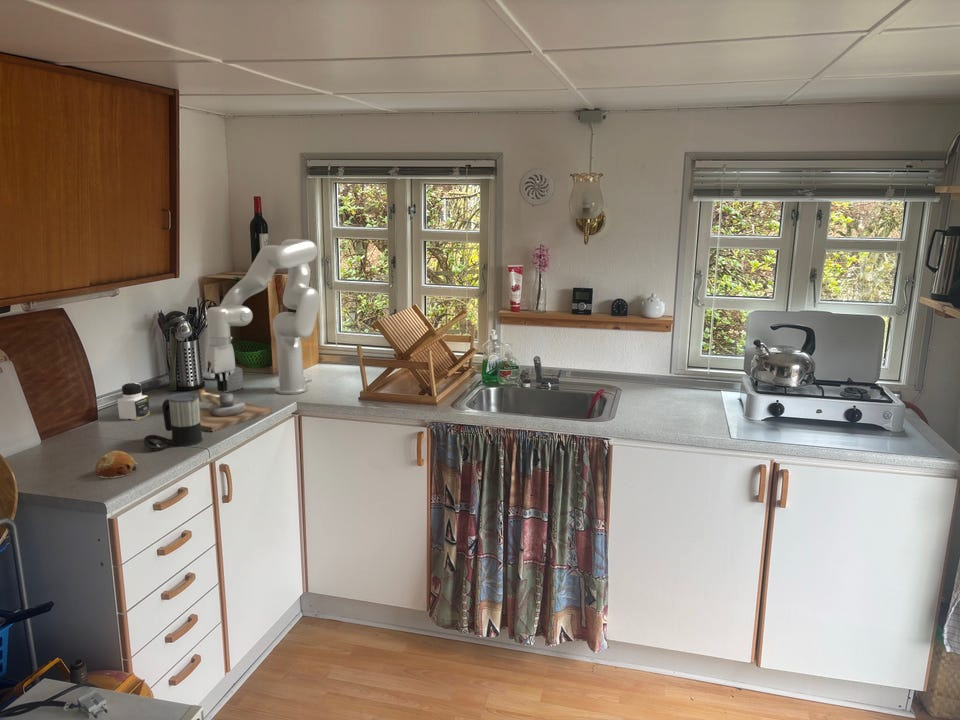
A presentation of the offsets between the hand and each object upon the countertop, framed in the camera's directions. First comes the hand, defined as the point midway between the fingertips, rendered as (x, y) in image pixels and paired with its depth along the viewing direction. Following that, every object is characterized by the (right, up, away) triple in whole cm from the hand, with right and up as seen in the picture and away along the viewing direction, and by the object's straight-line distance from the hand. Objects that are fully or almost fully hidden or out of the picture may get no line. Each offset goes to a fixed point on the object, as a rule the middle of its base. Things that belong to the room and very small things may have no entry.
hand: (222, 390), depth 265 cm
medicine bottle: (-28, -9, -10) cm, 31 cm away
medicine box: (-5, -1, +27) cm, 27 cm away
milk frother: (-1, -15, -39) cm, 42 cm away
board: (+3, -9, -11) cm, 14 cm away
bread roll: (-7, -21, -62) cm, 66 cm away
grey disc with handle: (+2, -6, -8) cm, 10 cm away
